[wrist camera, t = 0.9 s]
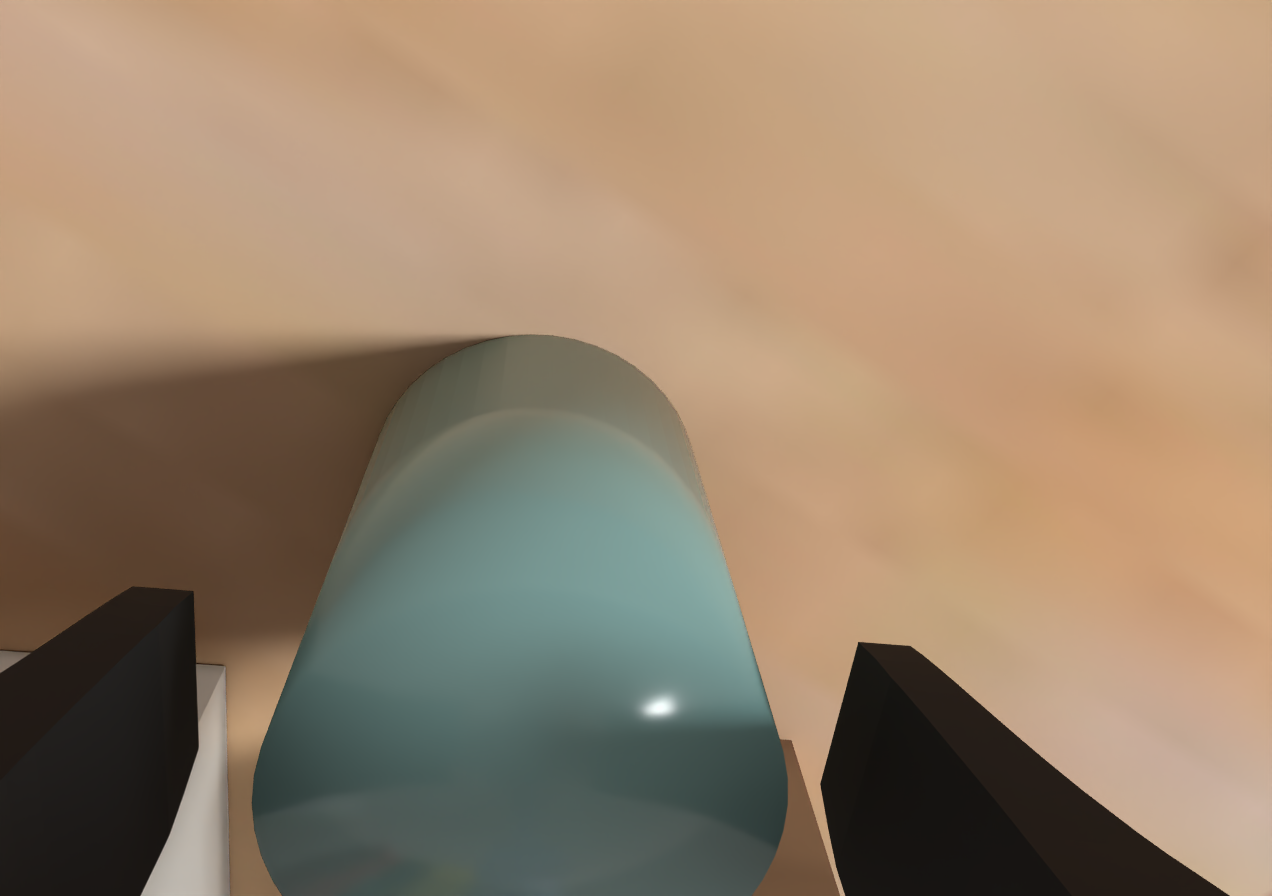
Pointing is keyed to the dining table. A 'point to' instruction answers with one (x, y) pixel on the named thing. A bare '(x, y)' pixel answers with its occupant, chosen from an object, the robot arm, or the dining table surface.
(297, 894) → the teal canister
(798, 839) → the walnut cube
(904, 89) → the dining table surface
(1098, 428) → the dining table surface
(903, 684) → the robot arm
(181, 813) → the grey tote
